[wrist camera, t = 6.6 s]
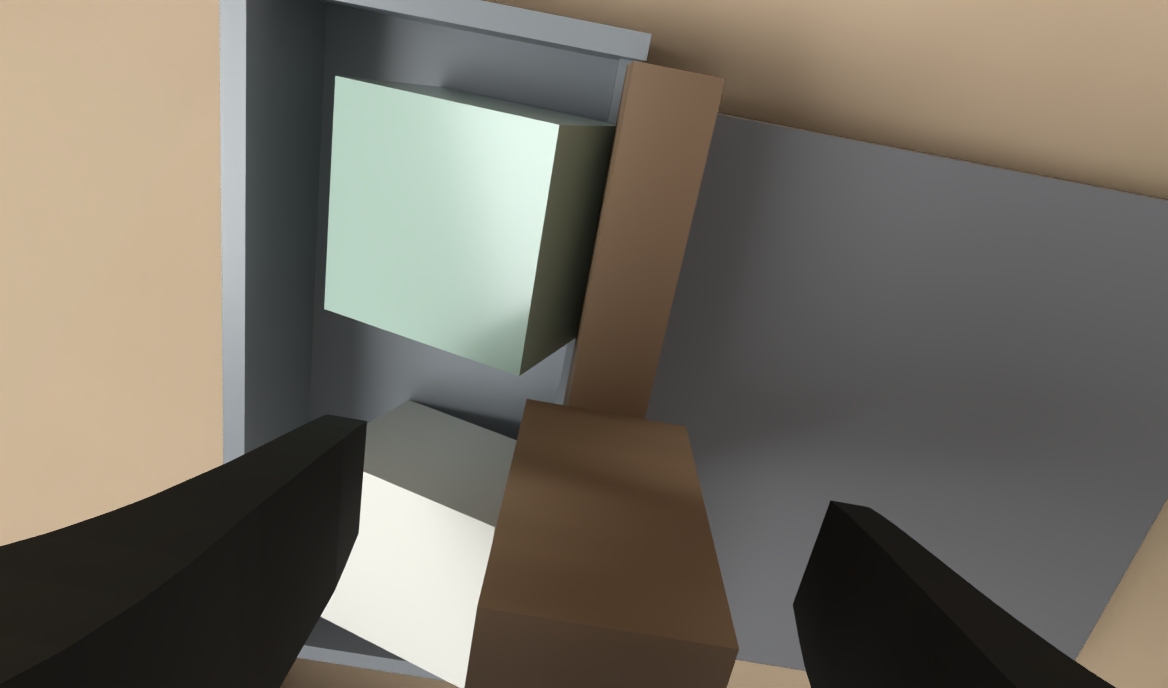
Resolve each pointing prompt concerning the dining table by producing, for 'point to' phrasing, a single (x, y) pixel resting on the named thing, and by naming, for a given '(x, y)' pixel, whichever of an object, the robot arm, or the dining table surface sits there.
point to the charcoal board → (918, 371)
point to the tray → (301, 211)
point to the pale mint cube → (462, 218)
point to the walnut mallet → (615, 450)
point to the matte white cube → (423, 536)
